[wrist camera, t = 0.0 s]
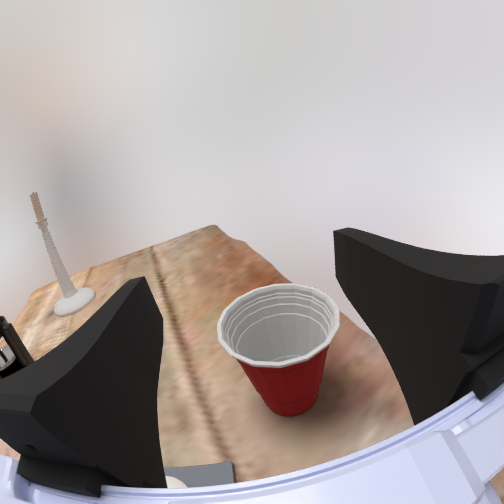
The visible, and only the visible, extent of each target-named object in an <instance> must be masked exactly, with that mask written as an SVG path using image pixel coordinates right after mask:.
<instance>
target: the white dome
mask: <svg viewBox="0 0 504 504" xmlns="http://www.w3.org/2000/svg"><path fill="white" fill-rule="evenodd" d="M165 477H166V482H167V486H168V488H189V487H187V486H186V485H185V484H184V483H183V482H182V481H180V480H178V479H177V478H174V477H170V476H165Z"/></svg>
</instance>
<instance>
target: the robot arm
mask: <svg viewBox="0 0 504 504" xmlns="http://www.w3.org/2000/svg"><path fill="white" fill-rule="evenodd" d="M333 233H334V249H335V270H336V278H337V280H338V282H339V284H340V286H341V288H342V290H343V292H344V293H345V295H346V297H347V298H348V300H349V301H350V302H351V304H352V305H353V307H354V308H355V309H356V311H357V312H358V314H359V315H360V316H361V318H362V319H363V320H364V322H365V323H366V325H367V326H368V327H369V329H370V330H371V331H372V333H373V334H374V336H375V337H376V339H377V341H378V342H379V344H380V346H381V347H382V349H383V351H384V353H385V355H386V357H387V359H388V361H389V363H390V365H391V367H392V369H393V371H394V373H395V376H396V378H397V380H398V382H399V385H400V387H401V390H402V392H403V394H404V397H405V400H406V402H407V405H408V408H409V411H410V413H411V416H412V419H413V423H414V426H413V427H411V428H409V429H407V430H405V431H403V432H401V433H399V434H397V435H395V436H393V437H391V438H388V439H386V440H384V441H382V442H379V443H377V444H375V445H372V446H370V447H368V448H365V449H363V450H360V451H357V452H355V453H352V454H349V455H347V456H344V457H341V458H338V459H335V460H332V461H329V462H326V463H323V464H320V465H316V466H313V467H309V468H306V469H302V470H298V471H294V472H290V473H286V474H282V475H277V476H273V477H268V478H263V479H258V480H252V481H246V482H240V483H232V484H225V485H216V486H205V487H191V488H168V486H167V482H166V477H165V473H164V468H163V462H162V455H161V448H160V441H159V430H158V414H157V389H158V380H159V371H160V363H161V355H162V347H163V317H162V315H161V313H160V311H159V308H158V306H157V304H156V302H155V300H154V297H153V295H152V293H151V290H150V288H149V286H148V283H147V281H146V279H145V276H143V277H139V278H135V279H131V280H129V281H128V282H126V283H125V284H124V285H123V286H122V287H121V288H120V289H119V290H117V291H116V292H115V293H114V294H113V295H112V296H111V297H110V298H109V299H108V301H107V302H106V303H105V304H104V305H103V306H102V307H101V308H100V309H99V310H98V311H97V312H96V313H95V314H93V315H92V316H91V317H90V318H89V319H88V320H87V321H86V322H85V323H84V324H83V325H82V326H81V327H80V328H79V329H78V330H77V331H75V332H74V333H73V334H72V335H71V336H70V337H68V338H67V339H66V340H65V341H63V342H62V343H61V344H60V345H58V346H57V347H55V348H54V349H53V350H51V351H50V352H48V353H47V354H45V355H44V356H43V357H41V358H40V359H38V360H37V361H35V362H33V363H32V364H30V365H28V366H27V367H25V368H23V369H21V370H19V371H18V372H16V373H14V374H12V375H9V376H7V377H5V378H3V379H1V380H0V438H1V439H2V440H3V441H4V442H6V443H7V444H8V445H9V446H10V447H12V448H13V449H14V450H15V451H17V452H18V453H19V454H21V456H20V460H19V461H17V460H15V459H14V458H11V457H9V456H5V455H2V454H0V504H502V502H501V500H500V498H499V496H498V494H497V492H496V490H495V488H494V486H493V485H492V483H491V481H490V479H491V478H493V477H494V476H495V475H496V474H497V473H498V472H499V471H500V470H501V469H502V468H503V467H504V255H500V256H476V255H462V254H453V253H446V252H439V251H434V250H429V249H423V248H420V247H415V246H412V245H408V244H404V243H401V242H397V241H394V240H391V239H387V238H384V237H381V236H378V235H375V234H371V233H368V232H365V231H361V230H358V229H353V228H344V229H340V230H336V231H333Z"/></svg>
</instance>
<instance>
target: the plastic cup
mask: <svg viewBox="0 0 504 504" xmlns="http://www.w3.org/2000/svg"><path fill="white" fill-rule="evenodd" d="M338 328H339V309H338V307H337V306H336V304H335V303H334V301H333V300H332V299H331V297H330V296H329V295H327V294H325V293H323V292H322V291H320V290H318V289H316V288H314V287H310V286H305V285H301V284H274V285H269V286H265V287H261V288H257V289H254V290H252V291H250V292H248V293H246V294H244V295H242V296H240V297H238V298H237V299H236V300H234V301H233V302H232V303H231V304H230V305H229V306H228V307H227V308H226V309H225V310H224V311H223V313H222V315H221V317H220V319H219V321H218V324H217V331H218V340H219V342H220V343H221V344H222V345H223V347H224V348H225V349H226V350H227V351H228V353H229V354H230V355H231V356H232V357H233V358H235V359H236V360H237V361H238V362H239V363H240V364H241V366H242V368H243V369H244V371H245V373H246V374H247V376H248V378H249V379H250V381H251V382H252V384H253V386H254V387H255V389H256V390H257V392H258V393H259V394H260V395H261V397H262V398H263V400H264V402H265V403H266V404H267V406H268V407H269V408H270V409H271V410H272V411H273V412H275V413H277V414H280V415H282V416H294V415H298V414H301V413H304V412H305V411H307V410H308V409H309V408H311V407H312V405H313V404H314V402H315V401H316V398H317V396H318V391H319V385H320V383H321V380H322V375H323V370H324V365H325V359H326V354H327V350H328V348H329V344H330V342H331V340H332V339H333V337H334V335H335V334H336V332H337V330H338Z"/></svg>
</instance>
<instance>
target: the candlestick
mask: <svg viewBox="0 0 504 504" xmlns="http://www.w3.org/2000/svg"><path fill="white" fill-rule="evenodd" d="M30 197H31V200H32V204H33V207H34V211H35V214H36V217H37V220H38V221H37V222H36V223H37V224H38V227H39V228H40V229H41V231H42V232H43V238H44V241H45V245H46V248H47V251H48V254H49V256H50V259H51V262H52V265H53V268H54V271H55V273H56V276H57V279H58V281H59V284H60V287H61V289H62V291H63V295H64V296H62V297H61V298H60V299H59V301H58V302H57V303H56V305H55V308H54V313H55V315H56V316H59V317H63V316H68V315H71V314H74V313H76V312H78V311H80V310H82V309H83V308H85V307H86V306H87V305H88V304H90V303H91V302H92V300H93V299H94V298H95V291H94V290H93V289H91V288H78V289H75V287H74V286H73V284H72V282H71V280H70V278H69V276H68V274H67V272H66V269H65V267H64V265H63V263H62V261H61V259H60V257H59V254H58V252H57V250H56V247H55V245H54V243H53V241H52V238H51V235H50V232H49V231H48V229H47V225H48V223H47V221H46V220H47V217H46V218H44V215H43V211H42V208H41V205H40V201H39V198H38V194H37V192H36V193H33V194H31V195H30Z"/></svg>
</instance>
